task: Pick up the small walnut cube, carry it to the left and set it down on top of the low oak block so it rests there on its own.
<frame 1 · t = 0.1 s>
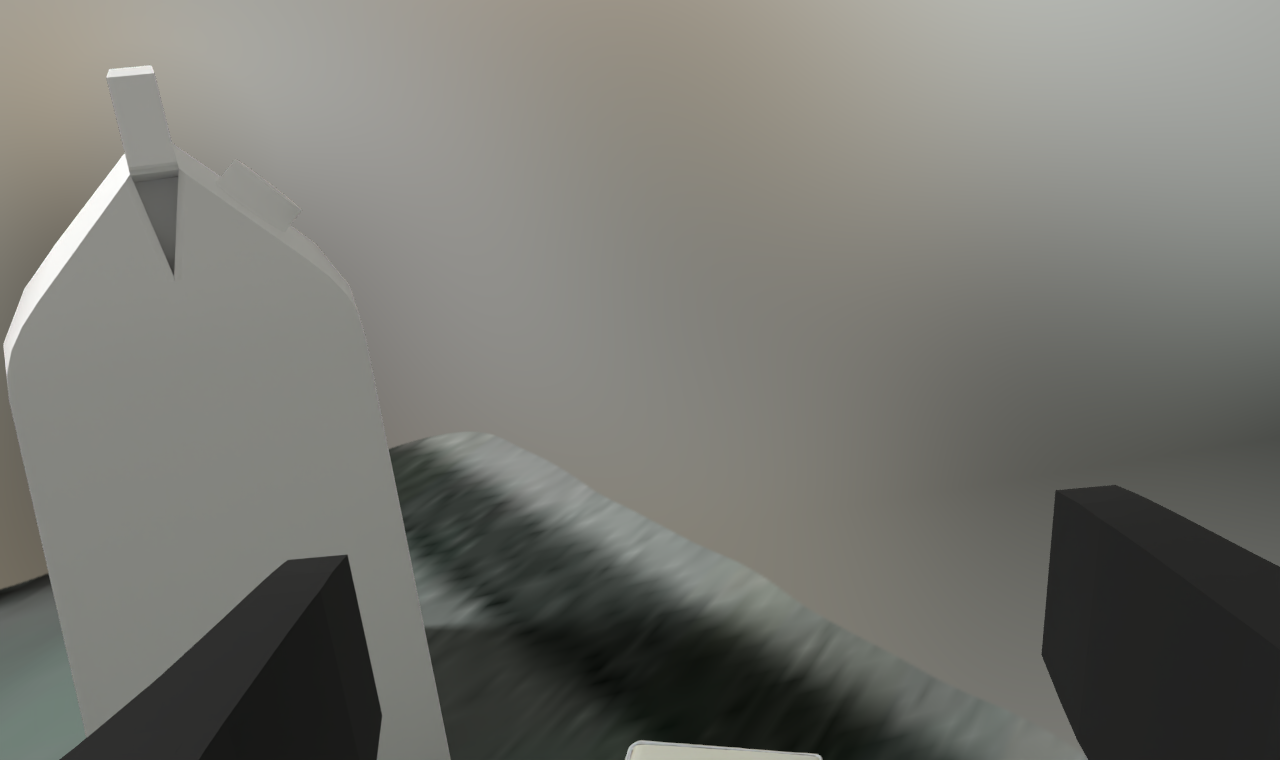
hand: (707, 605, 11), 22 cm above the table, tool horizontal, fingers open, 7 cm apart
milk: (278, 744, 45), on the table
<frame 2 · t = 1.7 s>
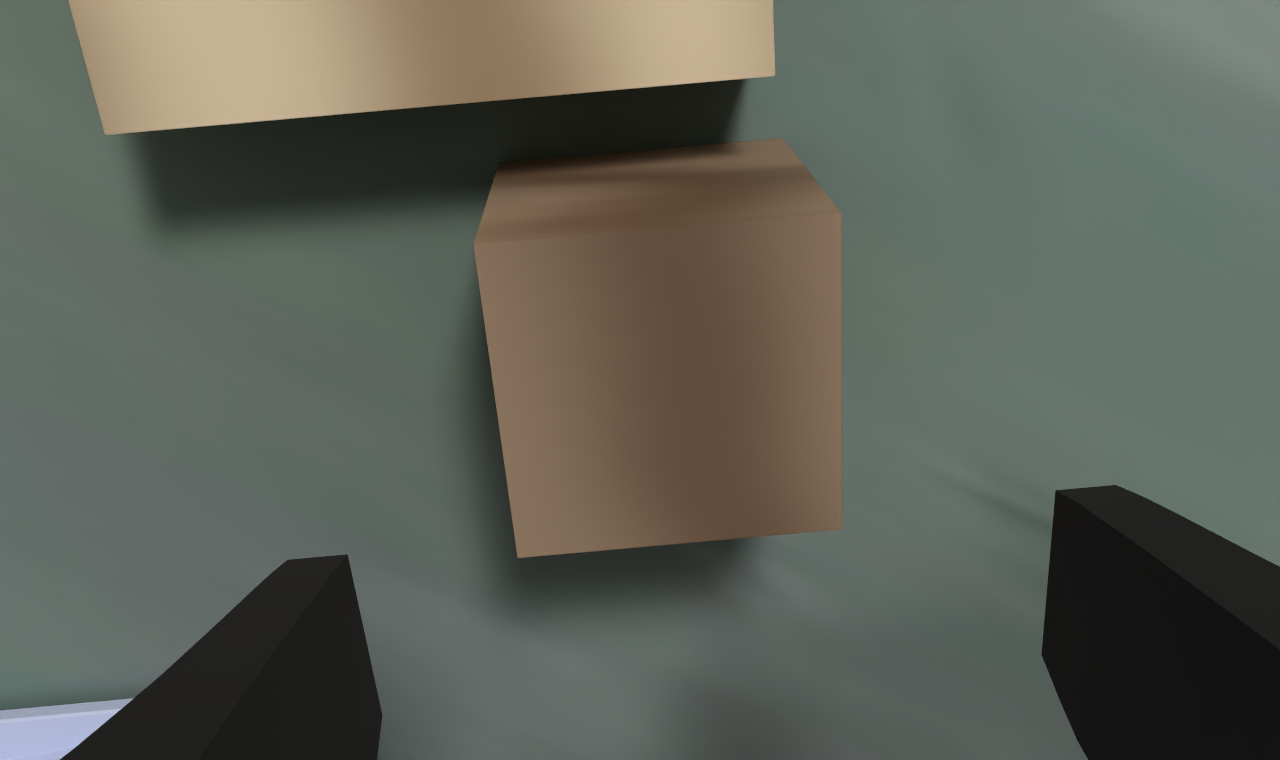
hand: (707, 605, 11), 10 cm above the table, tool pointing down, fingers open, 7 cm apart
walnut cube: (651, 283, 21), on the table
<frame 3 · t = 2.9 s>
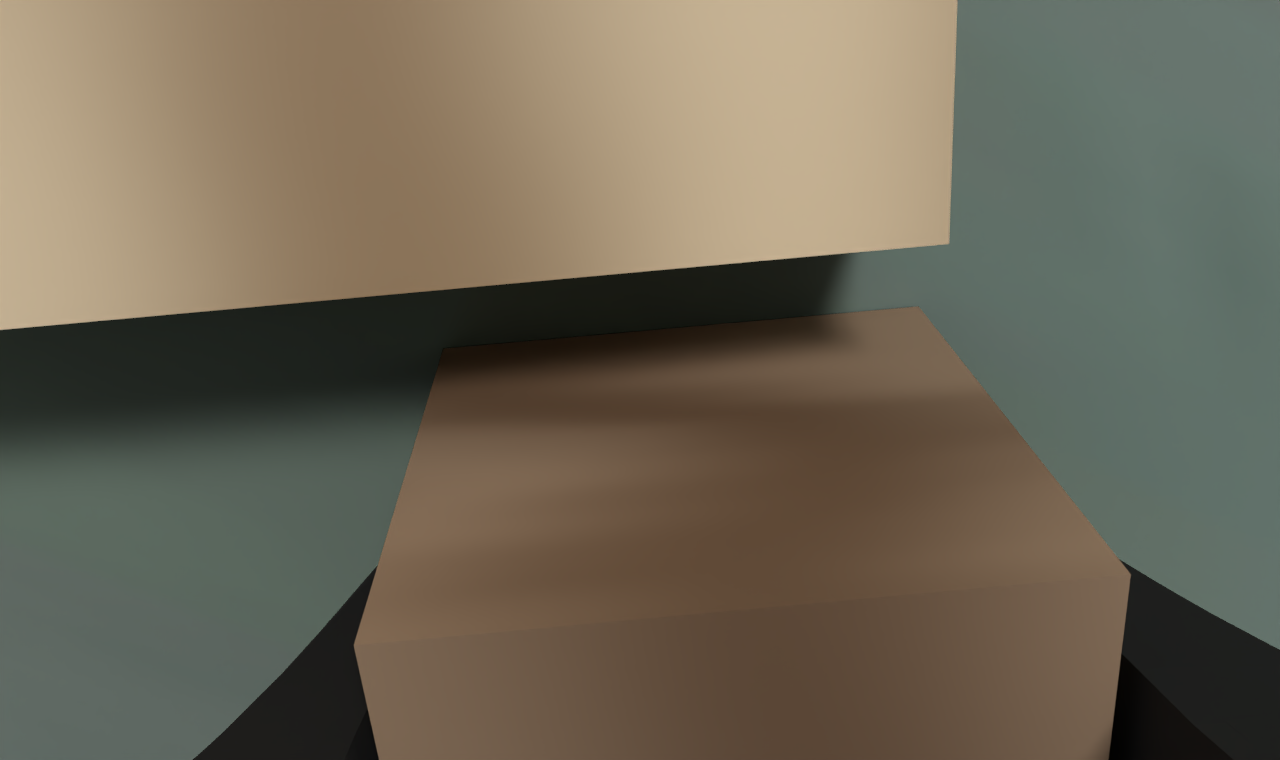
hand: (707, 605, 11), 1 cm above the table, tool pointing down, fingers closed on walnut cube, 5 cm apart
walnut cube: (695, 531, 13), on the table, touching gripper
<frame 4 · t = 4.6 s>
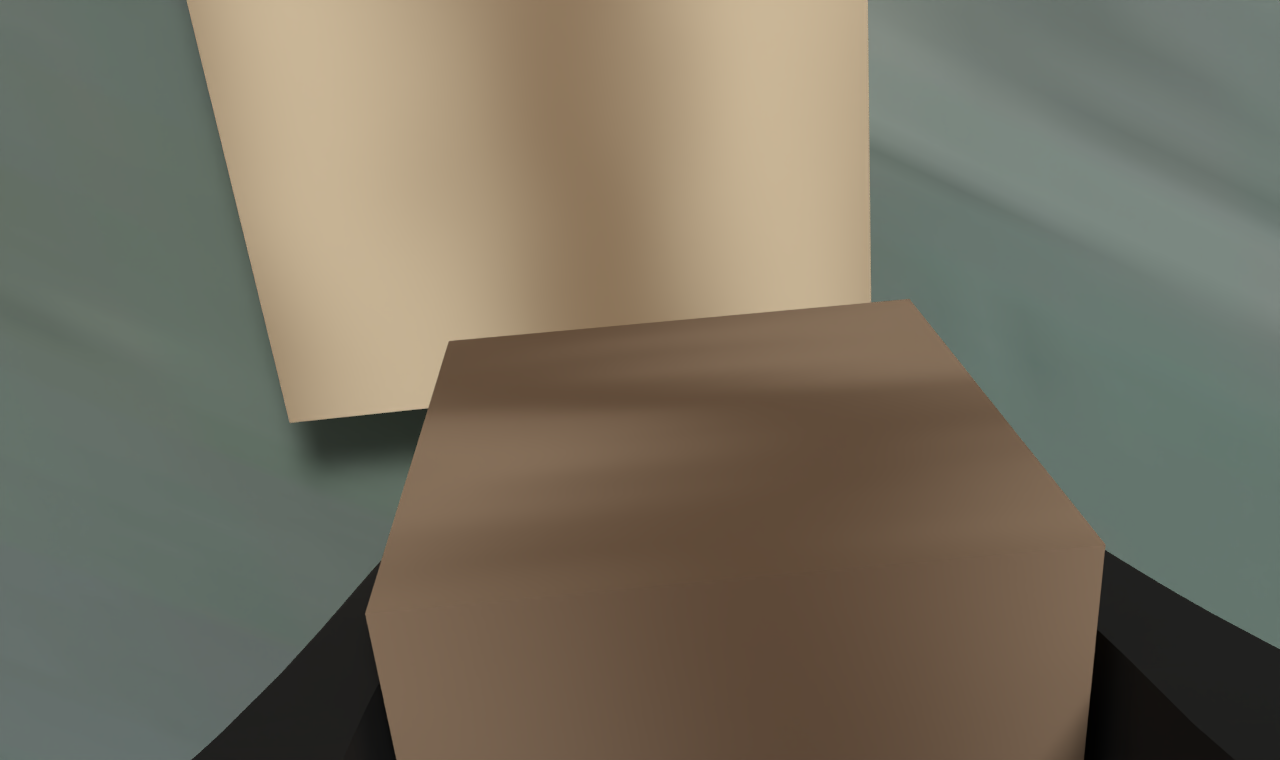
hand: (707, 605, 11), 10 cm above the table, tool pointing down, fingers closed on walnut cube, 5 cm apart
oak block: (548, 67, 20), on the table
walnut cube: (693, 519, 13), point 9 cm above the table, touching gripper
when the fingers open (5 cm above the table, at t = 6.4 s): walnut cube stays where it is, resting on oak block.
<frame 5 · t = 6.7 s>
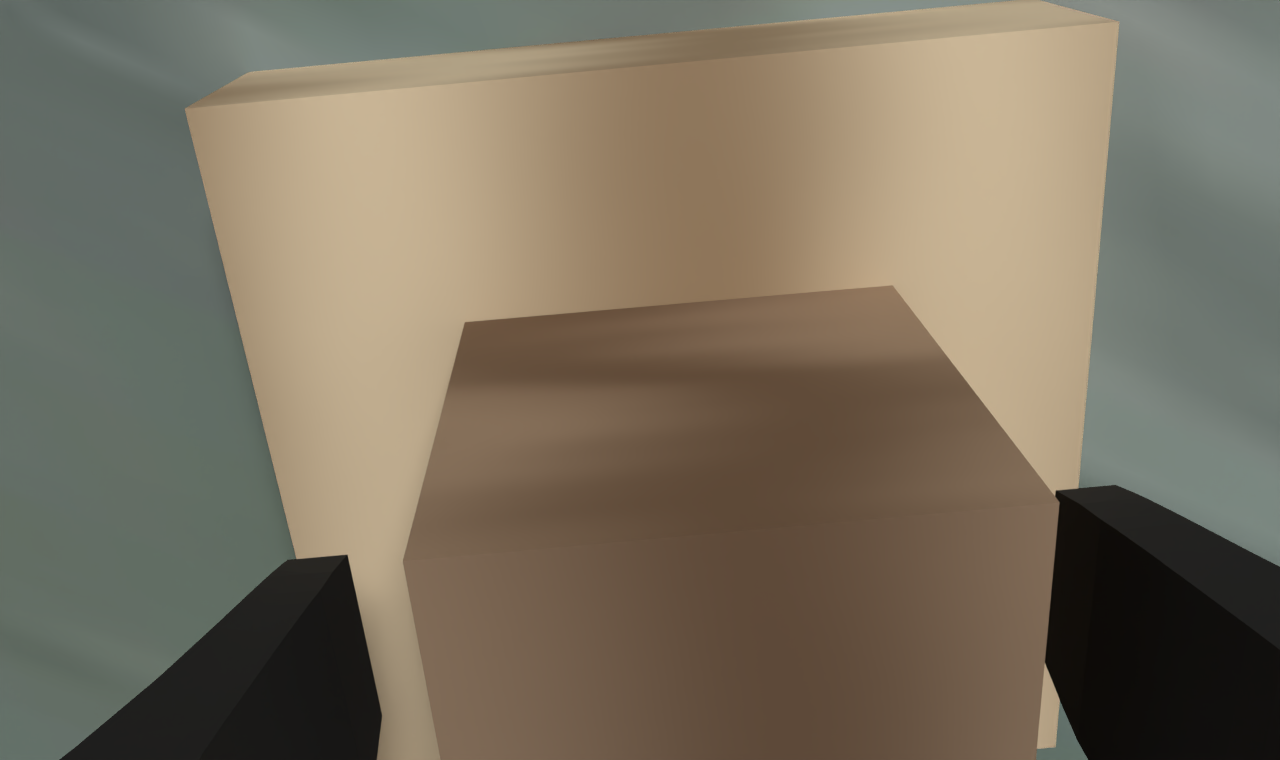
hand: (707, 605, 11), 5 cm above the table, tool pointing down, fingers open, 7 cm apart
oak block: (668, 377, 17), on the table, touching walnut cube
walnut cube: (691, 490, 14), point 2 cm above the table, touching oak block
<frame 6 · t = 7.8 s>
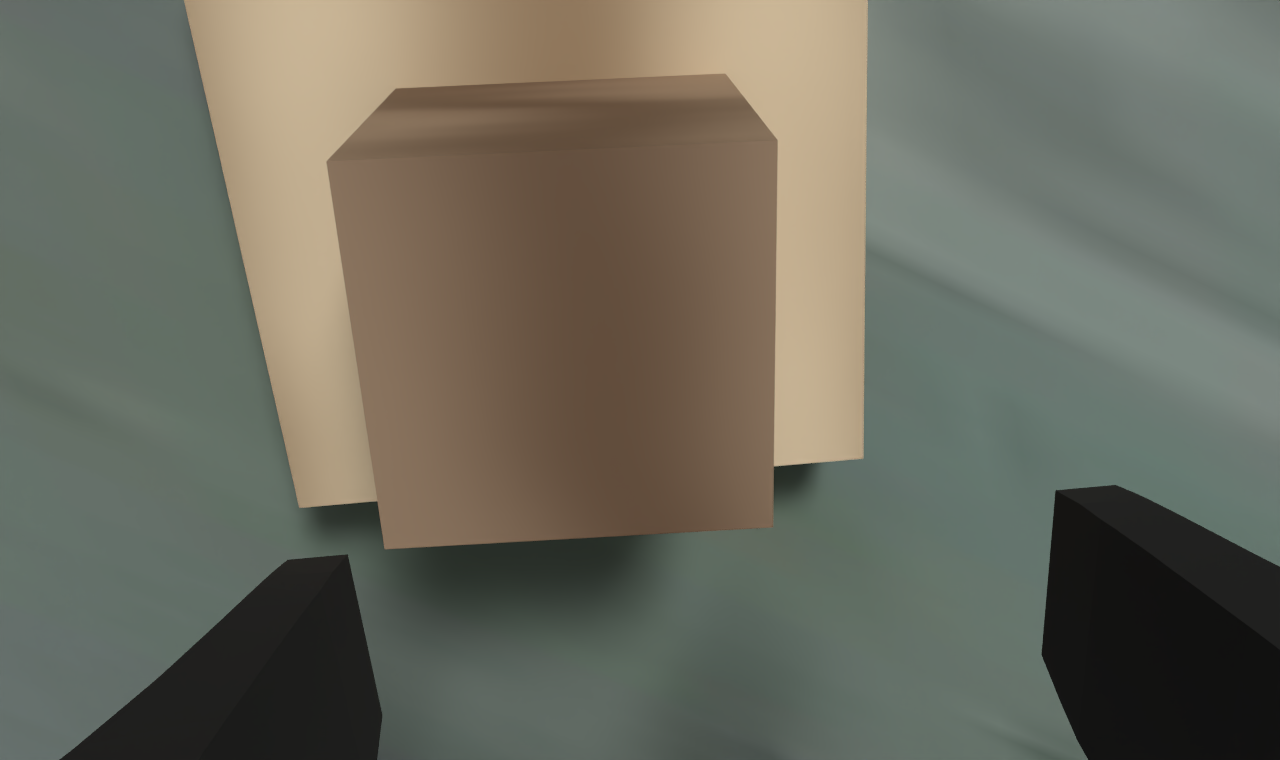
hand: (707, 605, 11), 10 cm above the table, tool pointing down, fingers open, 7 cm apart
oak block: (556, 164, 21), on the table, touching walnut cube
walnut cube: (571, 240, 18), point 2 cm above the table, touching oak block
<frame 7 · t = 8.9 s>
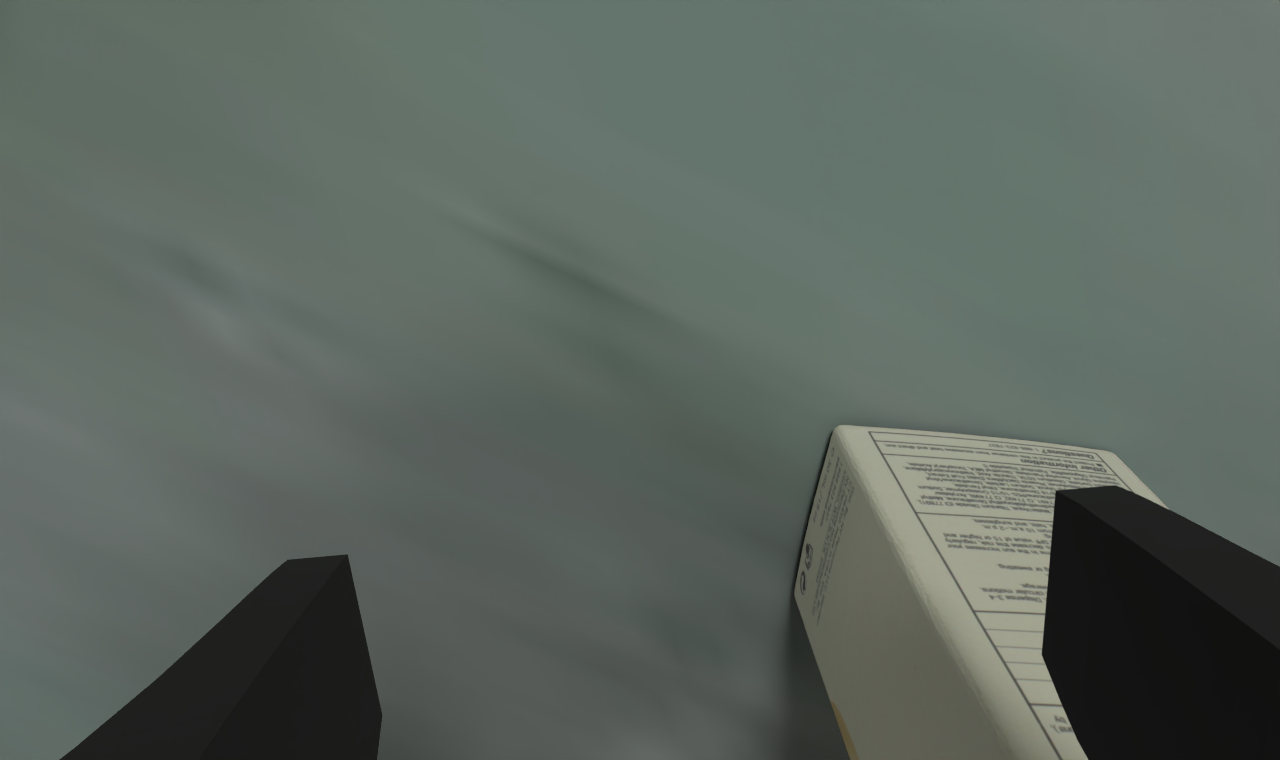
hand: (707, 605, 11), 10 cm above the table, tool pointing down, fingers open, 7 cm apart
skincare box: (954, 518, 24), on the table
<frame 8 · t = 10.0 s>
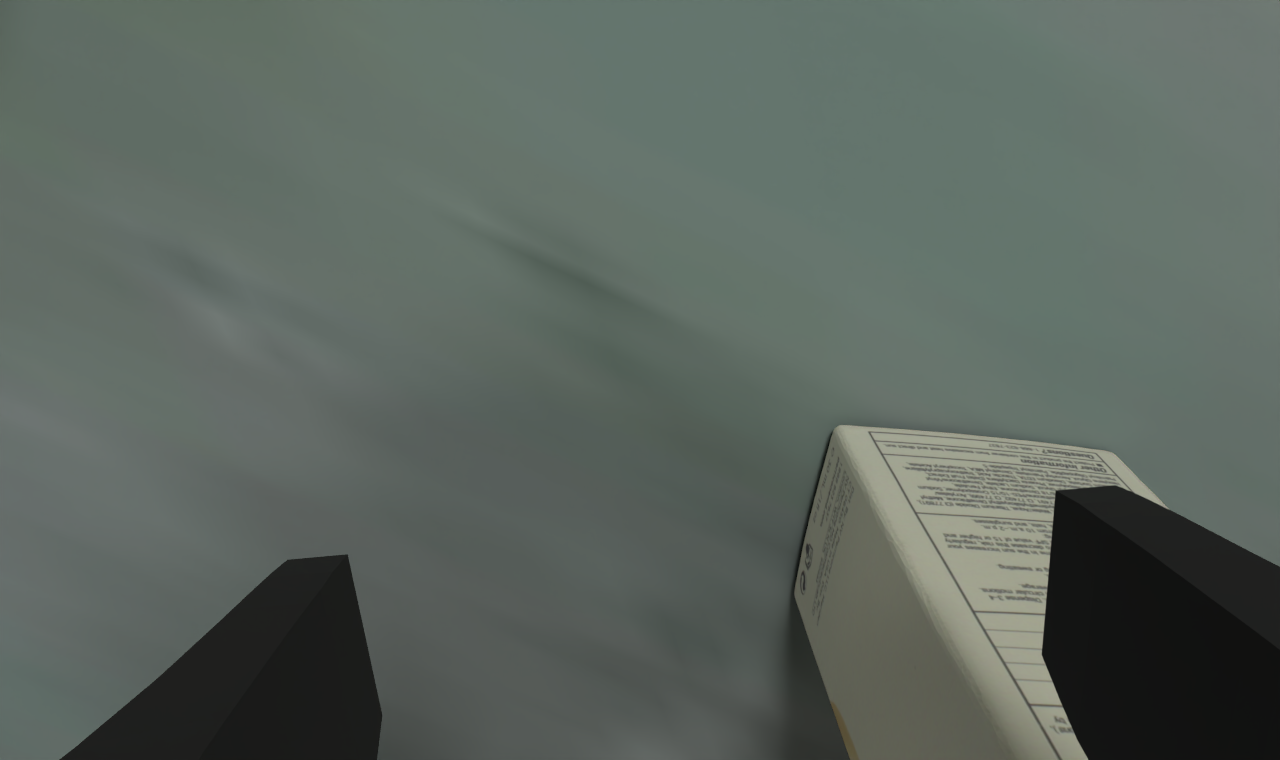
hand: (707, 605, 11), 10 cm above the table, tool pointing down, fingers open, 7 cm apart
skincare box: (954, 518, 24), on the table
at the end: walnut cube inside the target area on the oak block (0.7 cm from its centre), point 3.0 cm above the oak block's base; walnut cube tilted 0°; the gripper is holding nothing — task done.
